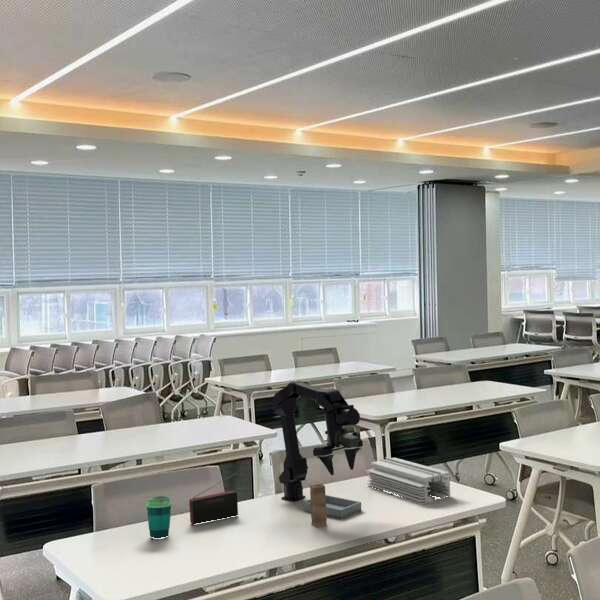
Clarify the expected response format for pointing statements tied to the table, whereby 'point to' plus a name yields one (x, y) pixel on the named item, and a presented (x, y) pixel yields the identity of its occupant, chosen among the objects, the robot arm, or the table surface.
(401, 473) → the aluminum extrusion profile
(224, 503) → the radio
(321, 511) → the block
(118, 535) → the table surface
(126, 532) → the table surface
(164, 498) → the cup
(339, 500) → the tray
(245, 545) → the table surface
